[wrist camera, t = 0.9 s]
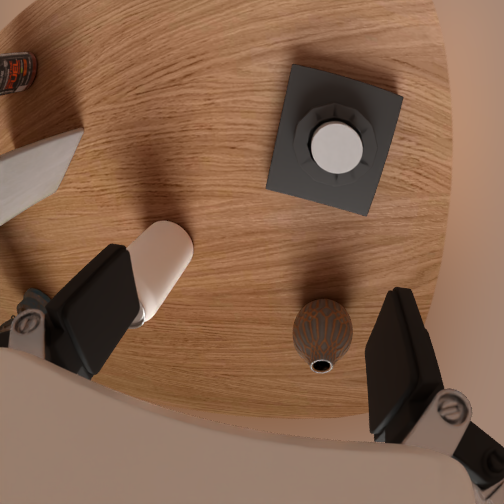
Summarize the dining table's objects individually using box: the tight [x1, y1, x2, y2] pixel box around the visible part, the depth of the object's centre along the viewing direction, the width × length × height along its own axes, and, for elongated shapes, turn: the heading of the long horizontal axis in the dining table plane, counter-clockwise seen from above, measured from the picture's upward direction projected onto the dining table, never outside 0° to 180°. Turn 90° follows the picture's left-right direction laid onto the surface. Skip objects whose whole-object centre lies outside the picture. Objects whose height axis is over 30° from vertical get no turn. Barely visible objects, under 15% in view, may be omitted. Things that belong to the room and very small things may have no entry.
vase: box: [293, 299, 353, 373], centre depth 32 cm, size 7×7×9 cm
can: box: [126, 221, 193, 329], centre depth 30 cm, size 6×6×12 cm
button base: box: [266, 64, 403, 216], centre depth 24 cm, size 12×10×4 cm
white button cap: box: [311, 121, 363, 174], centre depth 22 cm, size 4×4×2 cm
